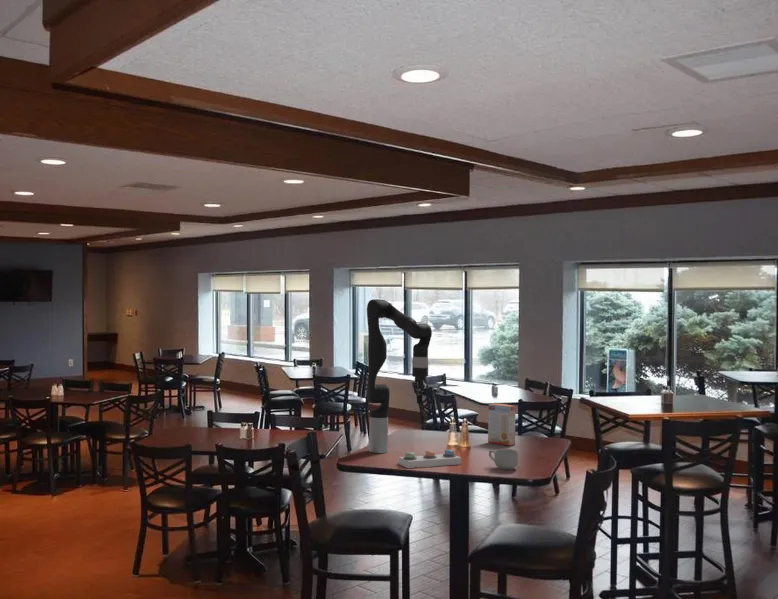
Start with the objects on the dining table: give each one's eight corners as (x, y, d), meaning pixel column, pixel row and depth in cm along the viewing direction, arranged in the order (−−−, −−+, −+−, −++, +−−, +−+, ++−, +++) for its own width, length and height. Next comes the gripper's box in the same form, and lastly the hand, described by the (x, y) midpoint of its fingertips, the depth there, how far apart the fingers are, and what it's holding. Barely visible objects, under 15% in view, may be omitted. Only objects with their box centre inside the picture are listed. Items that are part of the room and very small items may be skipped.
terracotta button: (423, 455, 345) (423, 451, 345) (432, 454, 347) (432, 450, 347) (427, 457, 341) (427, 452, 341) (436, 456, 343) (436, 452, 343)
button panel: (398, 463, 344) (398, 456, 344) (451, 460, 354) (451, 452, 354) (407, 468, 334) (407, 460, 334) (461, 464, 345) (461, 456, 345)
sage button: (403, 456, 342) (403, 452, 342) (412, 456, 343) (412, 451, 343) (407, 458, 338) (407, 454, 338) (416, 458, 339) (416, 453, 339)
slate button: (443, 454, 349) (443, 449, 349) (451, 453, 351) (451, 449, 351) (447, 455, 345) (447, 451, 345) (455, 455, 347) (456, 451, 347)
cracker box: (515, 444, 396) (516, 405, 396) (508, 446, 392) (509, 406, 392) (494, 441, 406) (495, 402, 406) (487, 442, 402) (488, 403, 402)
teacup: (523, 469, 337) (523, 451, 337) (508, 472, 330) (508, 454, 330) (498, 464, 347) (498, 446, 347) (483, 467, 339) (483, 449, 340)
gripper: (407, 365, 356) (406, 401, 356) (418, 367, 344) (418, 405, 344) (421, 365, 359) (420, 401, 359) (433, 367, 346) (432, 405, 346)
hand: (419, 403), depth 351 cm, fingers closed
